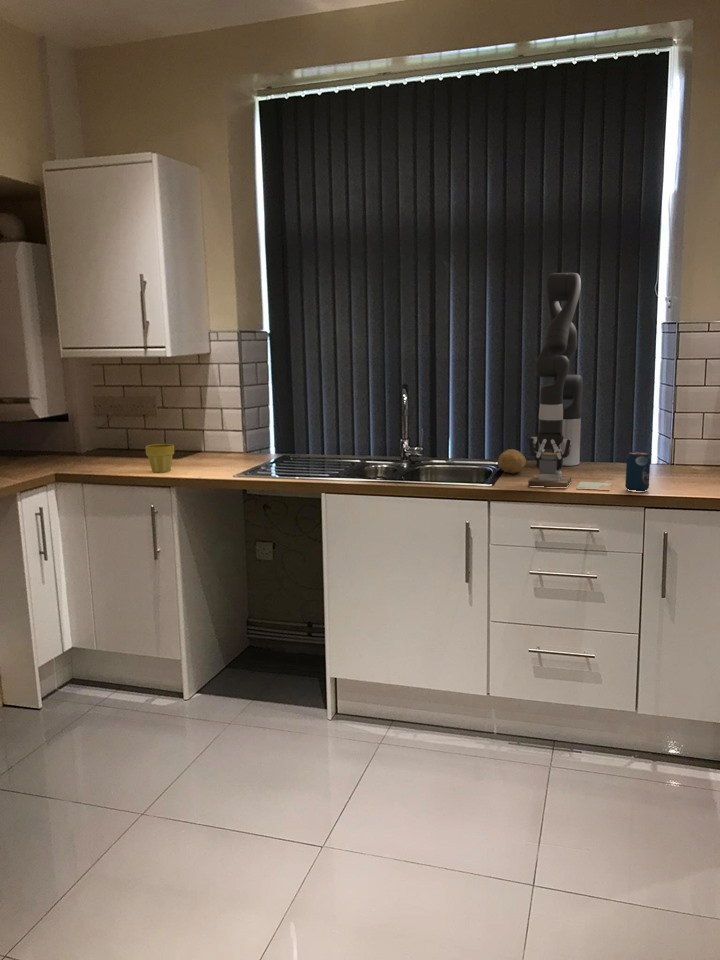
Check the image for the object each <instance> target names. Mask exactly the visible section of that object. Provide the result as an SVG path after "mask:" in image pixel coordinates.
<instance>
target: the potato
mask: <svg viewBox="0 0 720 960" xmlns="http://www.w3.org/2000/svg"><path fill="white" fill-rule="evenodd" d="M526 462H527V459H526V457H525V455H523V453H521V451H519V450H518V449H517V450H516V449H513V448H511V449H506V450H504V451H503V452H502V453H501V454H499V457H498V459H497V463H498V466H499V469H501V470H502V471H504V472H505V473H506V472H507V474H508V473H509V474H516V473H518V472H521V471H522V470H523V469H524V467H525V466H526Z"/></svg>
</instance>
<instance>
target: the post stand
mask: <svg viewBox="0 0 720 960" xmlns="http://www.w3.org/2000/svg"><path fill="white" fill-rule="evenodd" d="M570 482H571V483H572V476H570V475H569V476H568V475H567V476H566V475H563V474H562V471H560V472H558V473H557V474H542V473H539V472H538V474H534V475H533V476H532V477H531V478H530V479H529V480H528V486H544V487H567V486H568V485H569V483H570ZM571 483H570V484H571ZM569 486H570V485H569ZM569 486H568V487H569Z"/></svg>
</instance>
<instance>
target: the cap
mask: <svg viewBox="0 0 720 960" xmlns="http://www.w3.org/2000/svg"><path fill="white" fill-rule="evenodd" d="M557 459H558V457H557V454H556V453H554V452H543V454H541V460H539V469H538V474H539V473H542V474H557V473H558V472H561V470H560V471H559V470H557Z"/></svg>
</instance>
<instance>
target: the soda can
mask: <svg viewBox="0 0 720 960" xmlns="http://www.w3.org/2000/svg"><path fill="white" fill-rule="evenodd" d="M625 464H626V468H625V484H624V485H625V488H627V489H629V490H636V491H645V490H648V489H649V488H650V487H649V486H650V472H651V457H650V456H649V452H647V451H629V453H628V455H627V457H626V463H625ZM627 489H626V490H627Z"/></svg>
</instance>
